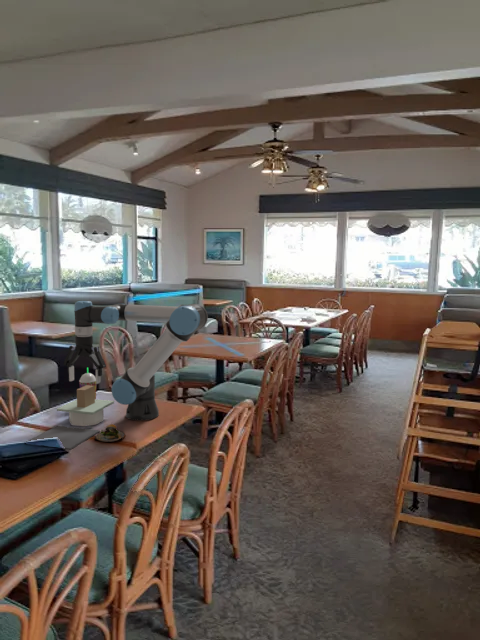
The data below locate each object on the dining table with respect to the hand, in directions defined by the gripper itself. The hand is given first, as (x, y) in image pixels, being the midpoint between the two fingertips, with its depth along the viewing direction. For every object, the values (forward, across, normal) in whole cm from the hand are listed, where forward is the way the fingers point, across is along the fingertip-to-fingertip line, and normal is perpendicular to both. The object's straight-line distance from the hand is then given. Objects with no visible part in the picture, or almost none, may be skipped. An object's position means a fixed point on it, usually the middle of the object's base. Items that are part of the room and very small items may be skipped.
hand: (84, 381), depth 218 cm
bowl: (+18, 0, 0) cm, 18 cm away
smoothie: (+18, -11, +19) cm, 28 cm away
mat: (+18, +3, -22) cm, 28 cm away
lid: (+12, 0, 0) cm, 12 cm away
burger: (+18, +22, -17) cm, 34 cm away
